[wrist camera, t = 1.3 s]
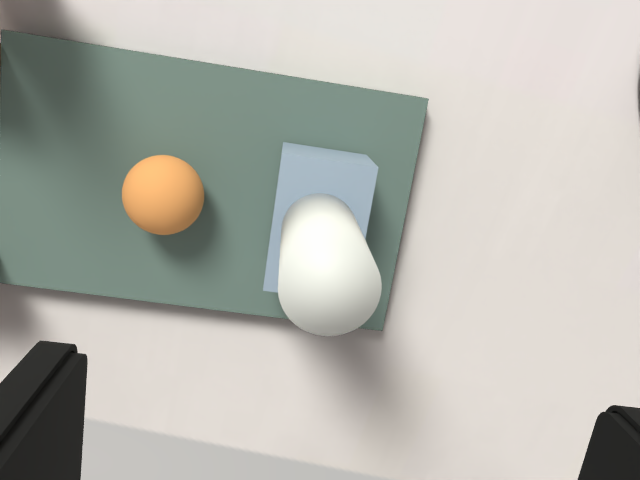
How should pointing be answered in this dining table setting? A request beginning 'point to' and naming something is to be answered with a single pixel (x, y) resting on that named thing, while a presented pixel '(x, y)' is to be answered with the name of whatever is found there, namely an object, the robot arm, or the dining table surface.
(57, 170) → the board
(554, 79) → the dining table surface
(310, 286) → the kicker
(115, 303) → the dining table surface
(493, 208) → the dining table surface
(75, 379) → the robot arm
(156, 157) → the ball
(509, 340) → the dining table surface
